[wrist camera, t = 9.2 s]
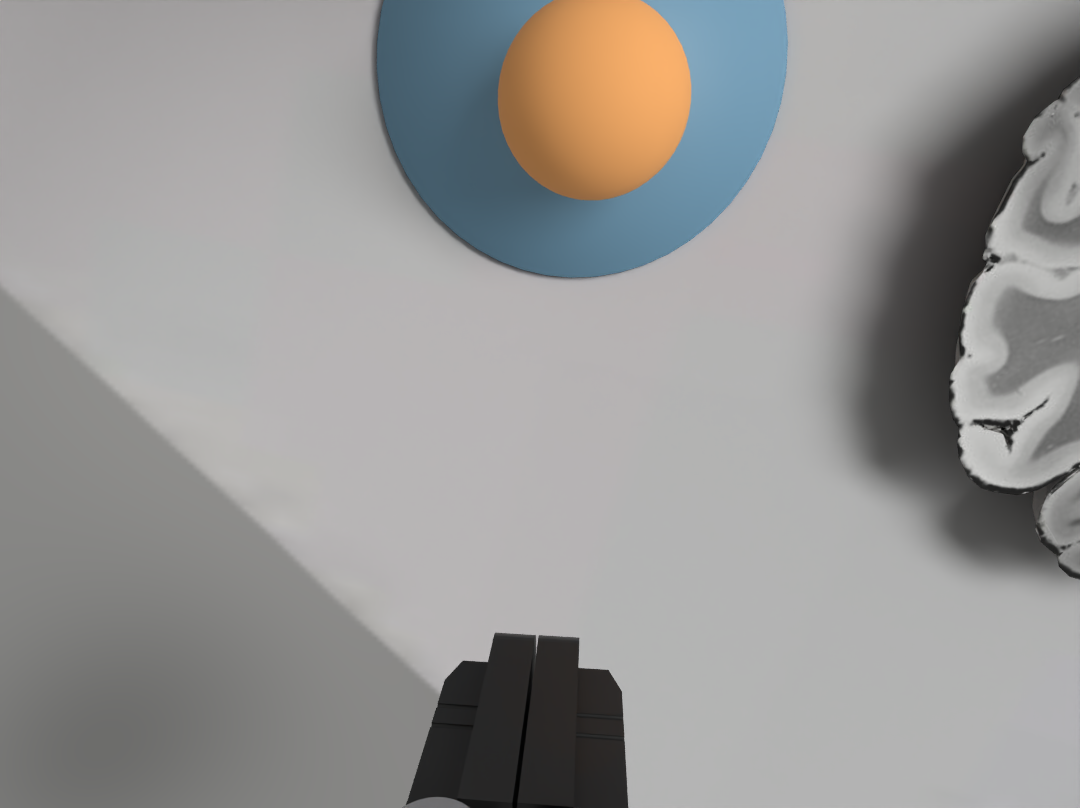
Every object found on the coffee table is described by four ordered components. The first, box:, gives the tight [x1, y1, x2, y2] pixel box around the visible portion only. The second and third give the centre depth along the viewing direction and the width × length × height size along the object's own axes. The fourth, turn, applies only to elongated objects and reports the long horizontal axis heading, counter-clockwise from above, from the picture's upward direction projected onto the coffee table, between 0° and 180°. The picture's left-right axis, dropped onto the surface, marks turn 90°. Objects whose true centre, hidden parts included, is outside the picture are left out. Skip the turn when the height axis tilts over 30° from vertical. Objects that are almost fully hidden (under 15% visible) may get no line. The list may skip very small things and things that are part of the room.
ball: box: [498, 0, 691, 200], centre depth 20 cm, size 6×6×6 cm
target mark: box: [377, 0, 788, 278], centre depth 22 cm, size 13×13×1 cm
